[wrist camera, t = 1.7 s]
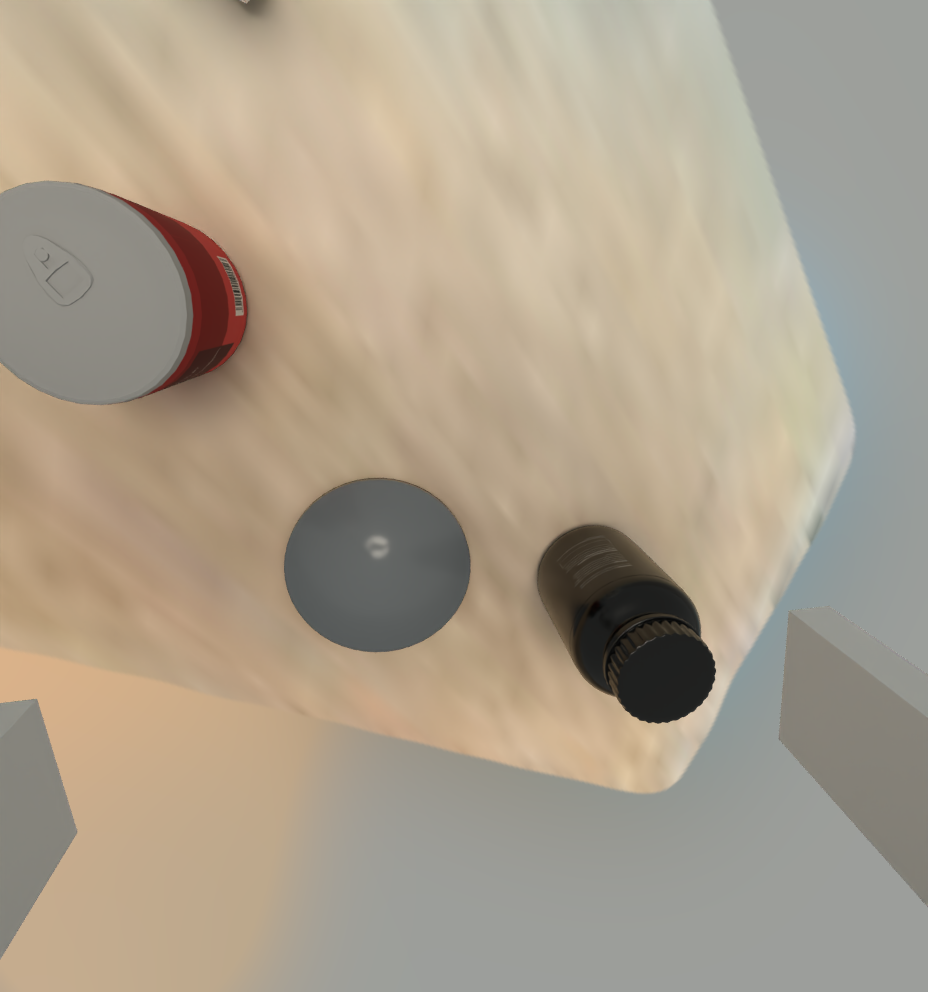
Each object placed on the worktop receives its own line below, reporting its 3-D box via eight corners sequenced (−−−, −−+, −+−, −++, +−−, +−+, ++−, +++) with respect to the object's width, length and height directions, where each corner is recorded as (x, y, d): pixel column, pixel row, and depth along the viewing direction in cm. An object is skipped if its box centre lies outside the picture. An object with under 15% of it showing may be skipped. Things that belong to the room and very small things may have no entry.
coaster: (299, 656, 40) (298, 661, 40) (272, 487, 37) (270, 489, 36) (474, 636, 41) (475, 641, 40) (462, 469, 38) (464, 472, 37)
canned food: (142, 185, 32) (19, 127, 22) (280, 288, 34) (230, 280, 24) (65, 312, 33) (-86, 316, 23) (203, 404, 35) (122, 446, 25)
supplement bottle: (527, 618, 41) (578, 739, 30) (545, 517, 39) (607, 605, 28) (629, 626, 42) (718, 746, 31) (651, 527, 40) (754, 616, 29)
